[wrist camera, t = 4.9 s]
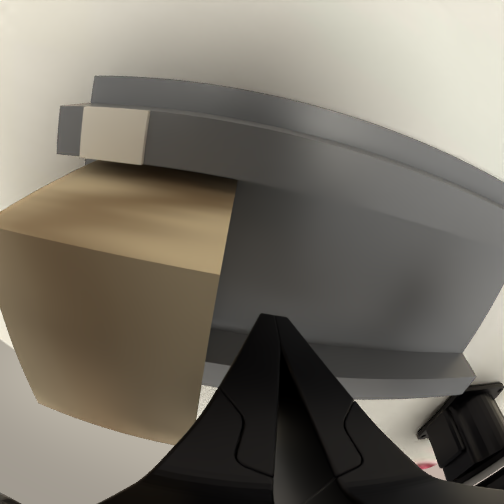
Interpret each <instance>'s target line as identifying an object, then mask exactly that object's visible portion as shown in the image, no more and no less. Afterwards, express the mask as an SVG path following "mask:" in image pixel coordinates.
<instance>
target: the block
mask: <svg viewBox="0 0 504 504" xmlns="http://www.w3.org/2000/svg"><path fill="white" fill-rule="evenodd" d="M237 182H238V180H234V179H229V178H223V177H218V176H212V175H206V174H201V173H195V172H189V171H183V170H176V169H170V168H164V167H157V166H150V165H143V164H142V165H136V164H128V163H120V162H112V161H104V160H96V161H94V162H92V163H90V164H88V165H86V166H83V167H81V168H79V169H77V170H75V171H73V172H71V173H69V174H67V175H65V176H63V177H61V178H59V179H57V180H55V181H53V182H51V183H50V184H48V185H46V186H44V187H42V188H40V189H38V190H37V191H35V192H33V193H31V194H29V195H28V196H26V197H24V198H23V199H21V200H19V201H17V202H16V203H14V204H12V205H11V206H9V207H7V208H6V209H4V210H2V211H1V212H0V308H1V312H2V315H3V318H4V321H5V324H6V327H7V330H8V333H9V336H10V338H11V341H12V344H13V347H14V349H15V352H16V354H17V357H18V359H19V361H20V364H21V366H22V368H23V371H24V373H25V376H26V378H27V380H28V382H29V385H30V387H31V389H32V391H33V393H34V395H35V397H36V399H37V401H38V403H39V404H42V405H44V406H46V407H49V408H51V409H54V410H56V411H59V412H62V413H64V414H66V415H69V416H72V417H74V418H78V419H80V420H83V421H86V422H89V423H92V424H95V425H98V426H101V427H104V428H108V429H111V430H114V431H118V432H121V433H125V434H129V435H132V436H136V437H140V438H144V439H149V440H153V441H157V442H162V443H167V444H171V445H176V444H177V442H178V441H179V440H180V439H181V438H182V437H183V436H184V435H185V434H186V432H187V431H188V430H189V429H190V428H191V426H192V425H193V424H194V423H195V421H196V417H197V411H198V404H199V397H200V391H201V385H202V378H203V372H204V366H205V360H206V353H207V347H208V341H209V335H210V329H211V324H212V318H213V312H214V306H215V300H216V295H217V289H218V284H219V278H220V272H221V267H222V261H223V256H224V250H225V245H226V239H227V234H228V229H229V223H230V218H231V213H232V207H233V202H234V197H235V192H236V187H237Z"/></svg>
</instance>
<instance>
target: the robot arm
mask: <svg viewBox="0 0 504 504" xmlns="http://www.w3.org/2000/svg"><path fill="white" fill-rule="evenodd" d="M503 389H504V386H503V384H502V383H498V384H491V385H483V386H474V387H468V388H467V389H466V390H465V391H464V392H463V394H460V395H452V397H451V398H450V399H449V400H448V401H447V402H446V404H445V405H444V406H443V407H442V408H441V409H440V410H439V411H438V413H437V414H436V415H435V416H434V417H433V418H432V419H431V420H430V421H429V422H428V423H427V424H426V425H425V426H424V427H423V428H422V429H421V430H420V431H419V432H418V433H417V438H418V439H425V438H429V440H430V442H431V445H432V448H433V451H434V453H435V456H436V459H437V462H438V465H439V467H440V468H443V471H444V474H445V477H446V480H447V481H445V480H441V479H438V478H435V477H432V476H431V475H429V474H427V473H426V472H424V471H423V470H422V469H421V468H419V467H418V466H417V465H416V464H415V463H414V462H413V461H412V460H411V459H410V458H409V457H408V456H407V455H406V454H404V453H403V452H402V451H401V450H400V449H399V448H398V447H397V446H396V445H395V444H394V443H393V442H392V441H391V440H390V439H389V438H388V437H387V436H386V435H385V434H384V433H383V432H382V431H381V430H380V429H379V428H378V427H377V426H376V425H375V424H374V422H373V421H372V420H371V419H370V418H369V417H368V416H367V414H366V413H365V412H364V411H363V410H362V409H361V407H360V406H359V405H358V404H357V402H356V401H354V399H353V398H352V396H351V395H350V394H349V393H348V392H347V390H346V389H345V388H344V387H343V385H342V384H341V383H340V382H339V381H338V379H337V378H336V377H335V376H334V374H333V373H332V372H331V371H330V369H329V368H328V367H327V366H326V364H325V363H324V362H323V361H322V360H321V358H320V357H319V356H318V355H317V353H316V352H315V351H314V350H313V348H312V347H311V346H310V345H309V343H308V342H307V341H306V340H305V338H304V337H303V336H302V335H301V333H300V332H299V331H298V330H297V328H296V327H295V326H294V325H293V323H292V322H291V321H290V320H289V319H288V318H287V317H284V316H278V315H271V314H265V313H261V314H260V315H259V316H258V318H257V320H256V322H255V324H254V325H253V327H252V329H251V331H250V333H249V334H248V336H247V338H246V340H245V341H244V343H243V345H242V347H241V349H240V350H239V352H238V354H237V356H236V357H235V359H234V361H233V363H232V364H231V366H230V368H229V370H228V371H227V373H226V375H225V377H224V378H223V380H222V382H221V383H220V385H219V387H218V389H217V390H216V392H215V393H214V395H213V397H212V398H211V400H210V402H209V403H208V405H207V406H206V408H205V409H204V411H203V412H202V414H201V415H200V416H199V418H198V419H197V420H196V421H195V423H194V424H193V425H192V426H191V428H190V429H189V430H188V431H187V432H186V434H185V435H184V436H183V437H182V438H181V439H180V440H179V441H178V442H177V444H176V445H175V446H174V447H173V448H172V449H171V450H170V451H169V452H168V454H167V455H166V456H165V457H164V458H163V459H162V460H161V461H160V462H159V463H158V464H157V465H156V466H155V467H154V468H153V469H152V470H151V471H150V472H149V473H148V474H147V475H146V476H144V477H143V478H142V479H140V480H139V481H138V482H136V483H135V484H133V485H131V486H130V487H127V488H126V489H124V490H122V491H120V492H118V493H117V494H115V495H113V496H111V497H109V498H107V499H105V500H104V501H102V502H100V503H98V504H504V467H503V468H502V469H500V470H499V471H497V472H496V473H494V474H493V475H491V476H490V477H488V478H487V479H485V480H484V481H482V482H480V483H479V484H477V485H475V486H473V485H474V484H476V483H477V482H479V481H481V480H483V479H484V478H486V477H487V476H489V475H490V474H492V473H493V472H495V471H496V470H498V469H499V468H500V467H502V466H504V416H503V414H502V413H501V411H500V409H499V407H498V405H497V403H496V401H495V400H494V399H495V398H496V397H497V396H498V395H499V394H500V392H501V391H502V390H503ZM353 401H354V402H353ZM0 504H21V503H19V502H17V501H15V500H13V499H12V498H10V497H8V496H6V495H4V494H2V493H0Z"/></svg>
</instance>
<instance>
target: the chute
mask: <svg viewBox="0 0 504 504" xmlns="http://www.w3.org/2000/svg"><path fill="white" fill-rule="evenodd" d="M57 154H63V155H73V156H79V158H85V166H86V165H88V164H90V163H92V162H94V161H96V160H104V161H112V162H120V163H128V164H136V165H142V164H143V165H150V166H157V167H164V168H170V169H176V170H183V171H189V172H195V173H201V174H206V175H212V176H218V177H223V178H229V179H234V180H238V182H237V187H236V192H235V197H234V202H233V207H232V213H231V218H230V223H229V229H228V234H227V239H226V245H225V250H224V256H223V261H222V267H221V272H220V278H219V284H218V289H217V295H216V300H215V306H214V312H213V318H212V324H211V329H210V335H209V341H208V347H207V353H206V360H205V366H204V372H203V378H202V385H206V386H212V387H219V385H220V383H221V382H222V380H223V378H224V377H225V375H226V373H227V371H228V370H229V368H230V366H231V364H232V363H233V361H234V359H235V357H236V356H237V354H238V352H239V350H240V349H241V347H242V345H243V343H244V341H245V340H246V338H247V336H248V334H249V333H250V331H251V329H252V327H253V325H254V324H255V322H256V320H257V318H258V316H259V315H260V314H261V313H265V314H271V315H278V316H284V317H287V318H288V319H289V320H290V321H291V322H292V323H293V325H294V326H295V327H296V328H297V330H298V331H299V332H300V333H301V335H302V336H303V337H304V338H305V340H306V341H307V342H308V343H309V345H310V346H311V347H312V348H313V350H314V351H315V352H316V353H317V355H318V356H319V357H320V358H321V360H322V361H323V362H324V363H325V364H326V366H327V367H328V368H329V369H330V371H331V372H332V373H333V374H334V376H335V377H336V378H337V379H338V381H339V382H340V383H341V384H342V385H343V387H344V388H345V389H346V390H347V392H348V393H349V394H350V395H351V396H352V398H353V399H409V398H427V397H440V396H451V395H460V394H463V392H464V391H465V390H466V389H467V388H468V386H469V385H470V384H471V383H472V381H473V380H474V379H475V378H476V375H475V373H474V371H473V370H472V368H471V366H470V365H469V363H468V362H467V360H466V358H465V357H464V355H463V353H462V352H463V351H464V350H465V348H466V347H467V345H468V344H469V342H470V341H471V339H472V338H473V336H474V334H475V333H476V331H477V330H478V328H479V327H480V325H481V323H482V322H483V320H484V318H485V317H486V315H487V313H488V312H489V310H490V308H491V306H492V305H493V303H494V301H495V299H496V297H497V296H498V294H499V292H500V290H501V288H502V286H503V284H504V182H502V181H500V180H498V179H497V178H495V177H493V176H491V175H489V174H487V173H486V172H484V171H482V170H480V169H478V168H476V167H474V166H472V165H470V164H468V163H466V162H464V161H462V160H460V159H458V158H456V157H454V156H452V155H449V154H447V153H445V152H443V151H441V150H438V149H436V148H434V147H432V146H429V145H427V144H425V143H422V142H420V141H418V140H415V139H413V138H410V137H408V136H405V135H403V134H400V133H397V132H395V131H392V130H389V129H387V128H384V127H381V126H378V125H376V124H373V123H370V122H367V121H364V120H361V119H358V118H355V117H352V116H348V115H345V114H342V113H339V112H335V111H332V110H328V109H325V108H321V107H318V106H314V105H310V104H307V103H303V102H299V101H295V100H291V99H286V98H282V97H278V96H273V95H268V94H264V93H259V92H254V91H249V90H243V89H238V88H232V87H226V86H219V85H213V84H206V83H198V82H190V81H181V80H171V79H160V78H147V77H128V76H95V77H94V84H93V90H92V97H91V103H84V104H73V105H64V106H60V114H59V125H58V139H57Z"/></svg>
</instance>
